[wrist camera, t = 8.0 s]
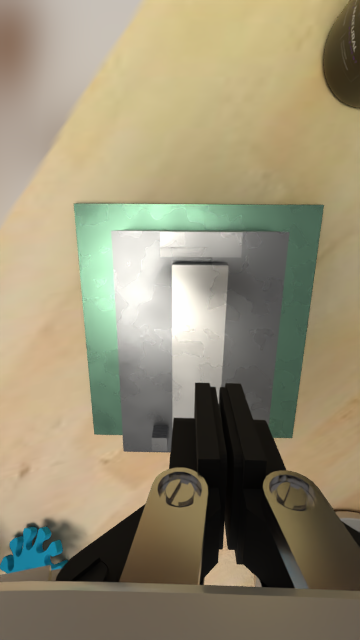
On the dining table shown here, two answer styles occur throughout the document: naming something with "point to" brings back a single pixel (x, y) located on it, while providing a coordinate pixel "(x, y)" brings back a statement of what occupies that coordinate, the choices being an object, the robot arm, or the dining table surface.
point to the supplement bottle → (344, 55)
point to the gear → (32, 551)
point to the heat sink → (156, 307)
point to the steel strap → (197, 331)
